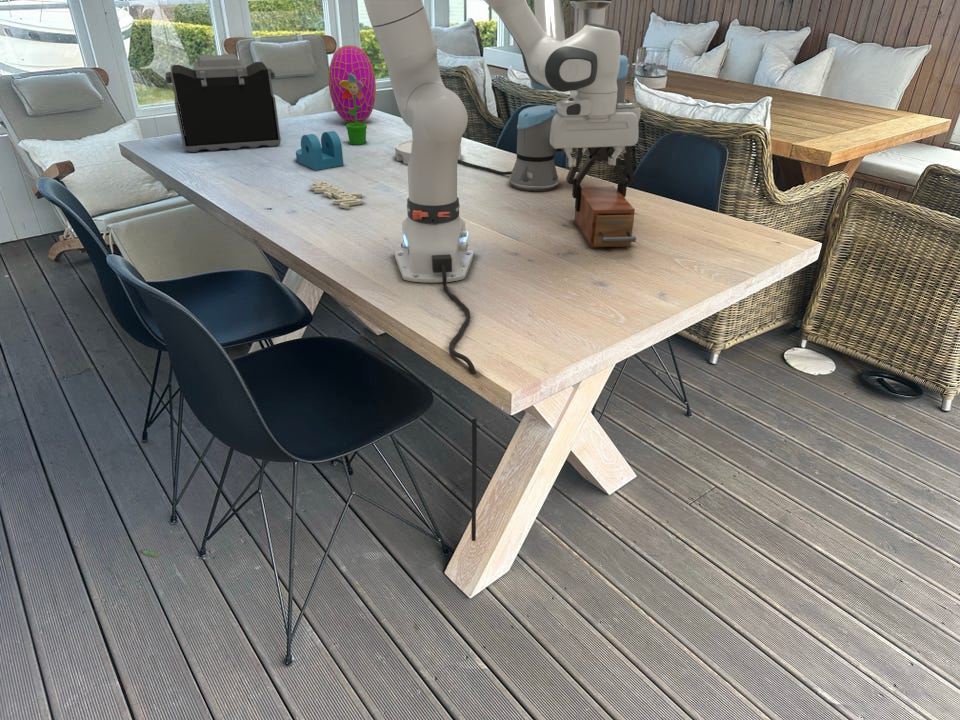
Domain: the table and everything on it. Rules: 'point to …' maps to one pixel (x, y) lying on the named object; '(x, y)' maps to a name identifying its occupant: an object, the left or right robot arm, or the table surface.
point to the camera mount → (320, 151)
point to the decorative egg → (361, 68)
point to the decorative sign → (337, 194)
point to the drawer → (614, 230)
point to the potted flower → (354, 129)
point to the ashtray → (408, 151)
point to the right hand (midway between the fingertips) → (597, 209)
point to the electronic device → (225, 104)
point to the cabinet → (599, 209)
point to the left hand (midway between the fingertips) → (591, 165)
